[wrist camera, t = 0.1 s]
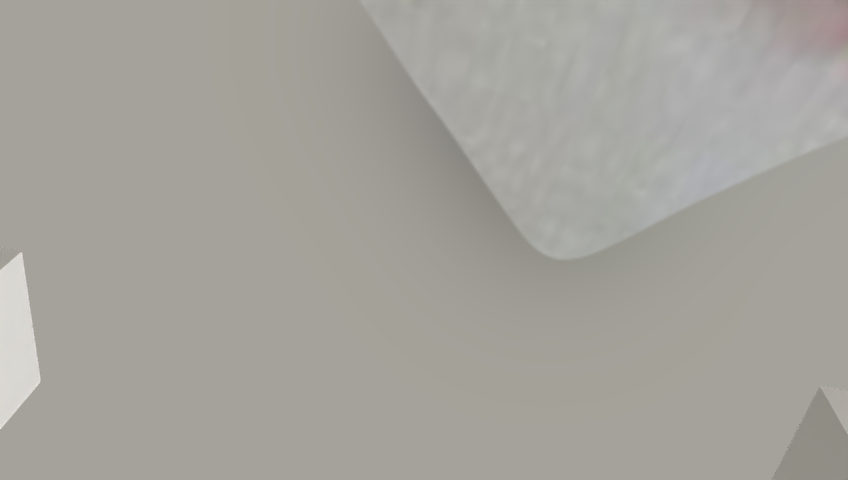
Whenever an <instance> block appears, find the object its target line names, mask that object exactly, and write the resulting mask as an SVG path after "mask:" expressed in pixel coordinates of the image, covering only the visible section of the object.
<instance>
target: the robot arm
mask: <svg viewBox="0 0 848 480" xmlns="http://www.w3.org/2000/svg"><path fill="white" fill-rule="evenodd" d="M40 382H41V379H40V373H39V367H38V359H37V352H36V345H35V339H34V332H33V325H32V318H31V311H30V304H29V298H28V290H27V284H26V277H25V271H24V263H23V256H22V251H17V250H11V249H5V248H0V429H1V428H2V427H3V425H4V424H5V423H6V422H7V421H8V420H9V418H10V417H11V416H12V415H13V414H14V412H15V411H16V410H17V409H18V408H19V407H20V405H21V404H22V403H23V402H24V401H25V399H26V398H27V397H28V396H29V395H30V394H31V392H32V391H33V390H34V389H35V388H36V387H37V385H38V384H39V383H40ZM772 480H848V390H842V389H836V388H830V387H824V386H819V388H818V390H817V392H816V394H815V396H814V398H813V400H812V402H811V404H810V406H809V408H808V410H807V412H806V414H805V416H804V417H803V419H802V421H801V423H800V425H799V427H798V429H797V431H796V433H795V435H794V437H793V439H792V441H791V443H790V445H789V447H788V449H787V451H786V453H785V455H784V457H783V459H782V461H781V463H780V465H779V467H778V468H777V470H776V472H775V475H774V476H773V478H772Z"/></svg>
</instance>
